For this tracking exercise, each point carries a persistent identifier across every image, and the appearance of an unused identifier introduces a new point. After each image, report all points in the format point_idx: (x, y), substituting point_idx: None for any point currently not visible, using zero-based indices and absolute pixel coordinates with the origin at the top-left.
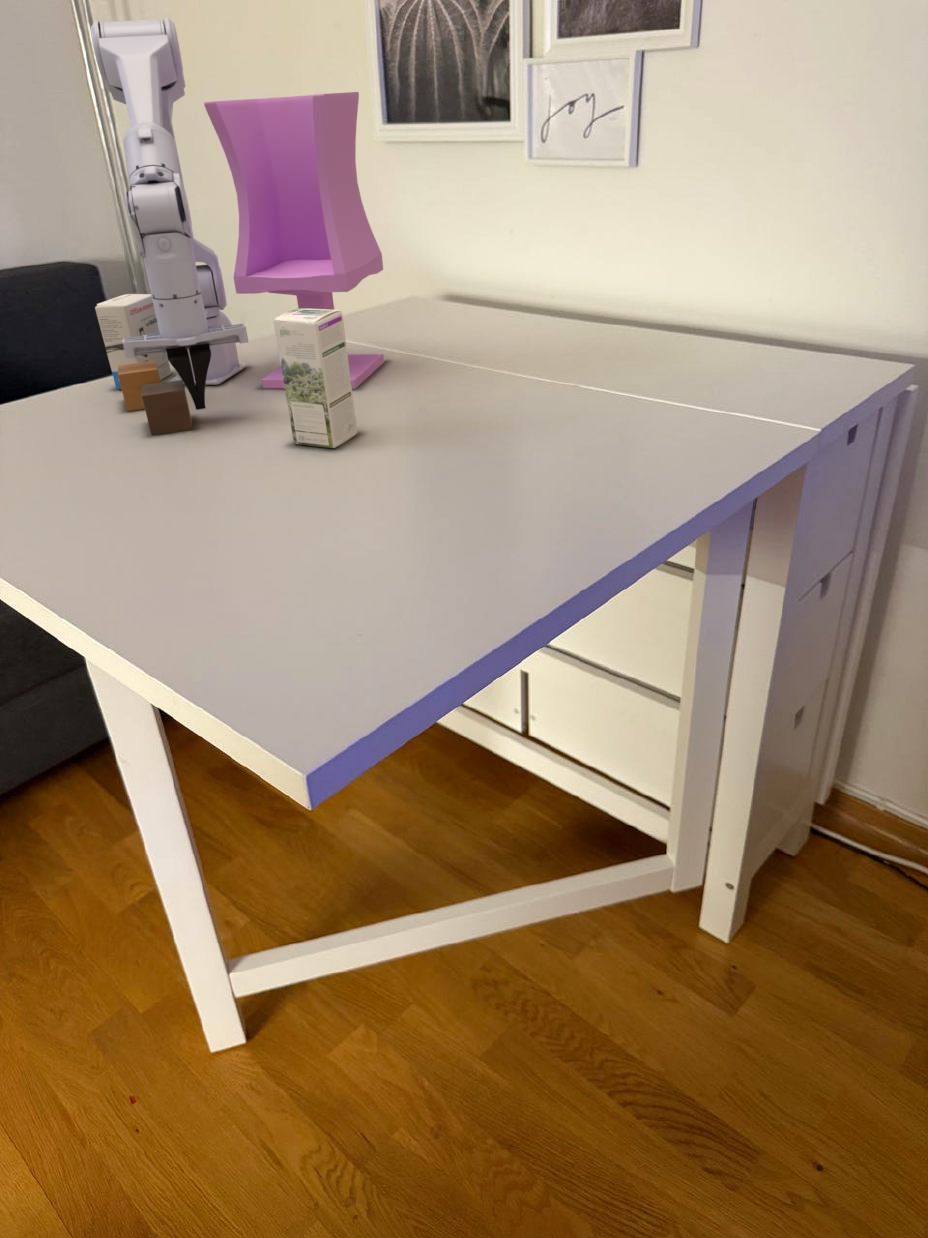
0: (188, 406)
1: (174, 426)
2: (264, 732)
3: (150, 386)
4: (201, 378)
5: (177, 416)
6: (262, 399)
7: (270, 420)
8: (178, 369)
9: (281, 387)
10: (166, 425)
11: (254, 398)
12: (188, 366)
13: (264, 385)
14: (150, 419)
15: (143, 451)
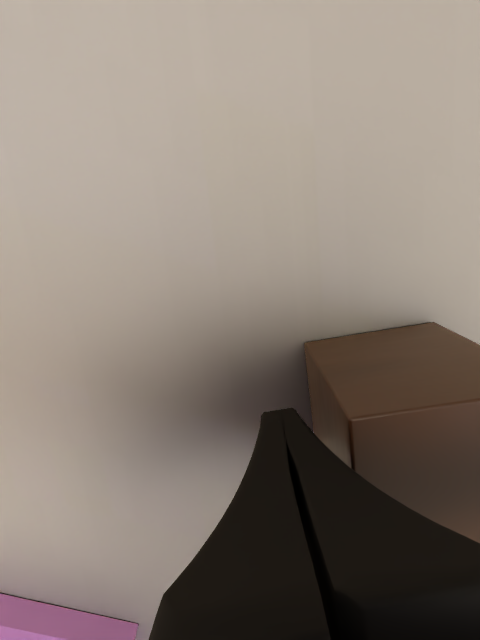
0: None
1: (364, 340)
2: None
3: None
4: (259, 490)
5: (360, 355)
6: (123, 546)
7: (56, 360)
8: (410, 520)
9: (84, 614)
10: (393, 337)
11: (148, 558)
12: (339, 539)
13: (130, 631)
14: (461, 340)
15: (465, 154)
